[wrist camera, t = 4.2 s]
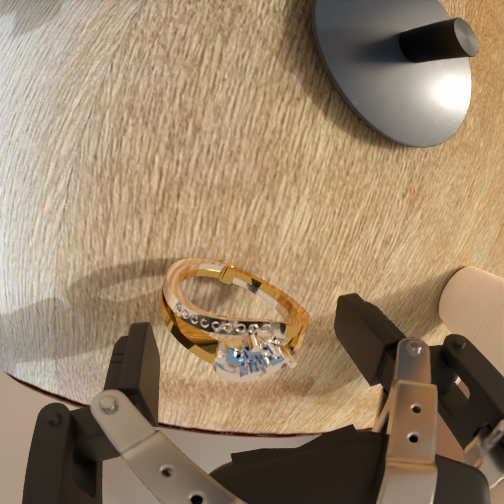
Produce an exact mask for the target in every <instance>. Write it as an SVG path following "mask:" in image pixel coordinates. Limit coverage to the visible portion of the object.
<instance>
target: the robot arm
mask: <svg viewBox="0 0 504 504" xmlns="http://www.w3.org/2000/svg"><path fill="white" fill-rule="evenodd" d="M334 330H335V334H336V336H337V338H338V339H339V341H340V342H341V344H342V345H343V347H344V348H345V350H346V351H347V352H348V354H349V355H350V357H351V358H352V360H353V361H354V363H355V364H356V366H357V367H358V369H359V370H360V371H361V373H362V374H363V376H364V377H365V379H366V380H367V382H368V383H369V385H370V386H374V385H377V384H379V383H381V385H382V386H383V387H382V389H381V392H380V398H379V403H378V408H377V413H376V418H375V423H374V426H373V429H372V431H356V429H355V427H354V426H353V424H351V425H348V426H346V427H343V428H340V429H336V430H333V431H330V432H327V433H324V434H323V435H321V436H319V437H317V438H316V439H314V440H312V441H310V442H308V443H306V444H304V445H302V446H301V447H298V448H278V449H277V448H273V449H267V448H262V449H257V450H251V451H245V452H239V453H232V454H231V458H232V461H231V462H229V463H226V464H224V465H222V466H220V467H218V468H217V469H215V470H214V471H212V472H211V473H210V474H207V473H206V472H205V471H203V470H202V469H201V468H200V467H199V466H198V465H196V464H195V463H194V462H193V461H192V460H191V459H190V458H189V457H187V456H186V455H185V454H184V453H183V452H182V451H181V450H180V449H179V448H178V447H177V446H176V445H175V444H174V443H173V442H172V441H171V440H170V439H168V437H167V436H166V435H164V434H163V433H162V432H161V431H160V430H158V431H157V430H156V429H155V428H154V427H158V401H159V377H160V356H159V351H158V347H157V344H156V341H155V337H154V334H153V330H152V327H151V324H150V322H144V323H132V324H131V327H130V331H129V336H121V337H120V339H119V340H118V341H117V342H116V344H115V345H114V349H113V352H112V356H111V360H110V364H109V368H108V372H107V377H106V381H105V386H104V390H103V391H102V392H100V393H99V394H97V395H96V396H95V397H94V398H93V400H92V402H91V405H90V406H87V407H84V408H80V409H76V410H72V411H69V409H68V408H67V407H66V406H65V405H64V404H61V403H51V404H48V405H46V406H45V407H44V408H42V409H41V411H40V412H39V414H38V418H37V421H36V425H35V430H34V434H33V438H32V442H31V447H30V452H29V457H28V463H27V469H26V475H25V482H24V490H23V499H22V504H102V463H103V462H102V461H103V460H107V459H111V458H115V457H119V456H121V457H122V459H123V460H124V461H125V462H126V464H127V465H128V466H129V468H130V469H131V470H132V471H133V472H134V474H135V475H136V476H137V477H138V478H139V480H140V481H141V482H142V483H143V484H144V485H145V486H146V488H147V489H148V490H149V491H150V492H151V493H152V494H153V495H154V496H155V497H156V498H157V499H158V501H159V502H160V503H161V504H491V501H490V489H492V488H493V487H494V486H496V485H497V484H499V483H500V482H502V481H503V480H504V377H503V376H502V374H501V373H500V372H499V371H498V370H497V369H496V368H495V367H494V366H493V365H492V364H491V362H490V361H489V360H488V359H487V358H486V357H485V356H484V355H483V354H482V353H481V352H480V351H479V350H478V349H477V348H476V347H475V346H474V345H473V344H472V343H471V342H470V341H469V340H468V339H467V338H466V337H464V336H462V335H459V334H450V335H448V336H446V338H445V340H444V342H443V345H437V346H428V345H427V344H426V343H425V342H424V341H423V340H421V339H418V338H414V337H406V336H405V335H404V334H403V333H402V332H401V331H400V330H399V329H398V328H397V327H396V326H395V325H394V324H393V323H392V322H391V321H390V320H389V319H388V318H387V316H386V315H383V312H382V311H381V310H380V309H379V308H378V307H377V306H375V305H373V304H371V303H369V302H365V301H364V300H363V299H362V298H361V297H360V296H359V295H358V294H357V293H352V294H347V295H342V296H339V298H338V301H337V308H336V315H335V322H334ZM458 376H459V377H460V379H461V380H462V381H463V382H464V383H465V385H466V386H467V387H468V389H469V391H470V397H469V399H467V397H466V396H465V395H464V393H463V392H462V391H461V390H460V389H459V387H458V386H457V384H456V383H455V381H456V380H457V378H458ZM437 412H439V414H440V415H441V417H442V418H443V420H444V421H445V423H446V424H447V426H448V427H449V429H450V430H451V432H452V433H453V435H454V436H455V438H456V439H457V441H458V442H459V444H460V446H461V447H462V449H463V450H464V460H463V462H459V461H455V460H452V459H449V458H446V457H443V456H440V455H437V454H435V451H436V438H437V414H438V413H437Z"/></svg>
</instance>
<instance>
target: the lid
mask: <svg viewBox="0 0 504 504" xmlns="http://www.w3.org/2000/svg"><path fill="white" fill-rule="evenodd" d="M311 25H312V31H313V37H314V41H315V45H316V48H317V52H318V54H319V57H320V59H321V62H322V64H323V67H324V69H325V71H326V72H327V74H328V76H329V78H330V80H331V82H332V83H333V85H334V87H335V88H336V90H337V91H338V93H339V94H340V96H341V97H342V98H343V100H344V101H345V102H346V104H347V105H348V106H349V107H350V108H351V109H352V110H353V112H354V113H355V114H356V115H357V116H358V117H359V118H360V119H361V120H362V121H364V122H365V123H366V124H367V125H368V126H369V127H370V128H372V129H373V130H375V131H376V132H377V133H379V134H380V135H382V136H384V137H386V138H387V139H389V140H391V141H394V142H396V143H399V144H401V145H406V146H411V147H421V148H425V147H432V146H435V145H438V144H441V143H443V142H444V141H446V140H448V139H449V138H450V137H451V136H452V135H454V134H455V132H456V131H457V130H458V129H459V127H460V126H461V124H462V122H463V121H464V118H465V116H466V113H467V110H468V107H469V103H470V96H471V72H470V65H469V60H468V57H474V56H476V55H477V53H478V43H477V39H476V36H475V34H474V32H473V30H472V29H471V27H470V26H469V25H468V23H467V22H465V21H464V20H463V19H461V18H453V19H451V18H450V16H449V15H448V13H447V12H446V10H445V9H444V8H443V7H442V5H441V4H440V3H439V2H438V1H437V0H313V3H312V10H311Z"/></svg>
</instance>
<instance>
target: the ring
mask: <svg viewBox="0 0 504 504" xmlns="http://www.w3.org/2000/svg"><path fill="white" fill-rule="evenodd" d="M195 276H208V277H214V278H218V280H219V281H221V282H223V283H226V284H231V283H234V284H236V285H239V286H241V287H243V288H245V289H247V290H249V291H251V292H253V293H255V294H256V295H258V296H259V297H261V298H262V299H264V300H265V301H267V302H268V303H269V304H270V305H271V306H273V307H274V308H275V309H276V310H277V311H278V312H279V314H280V315H281V316H282V318H283V319H284V321H281V322H275V321H273V320H269V319H253V318H235V317H226V316H220V315H215V314H212V313H209V312H206V311H204V310H201V309H200V308H198V307H196V306H195V305H194V304H192V303H191V302H190V301H189V300H188V299H187V298H186V296H185V295H184V293H183V292H182V290H181V288H180V285H179V284H180V283H181V282H182V281H184V280H185V279H188V278H191V277H195ZM159 308H160V312H161V315H162V318H163V320H164V322H165V324H166V326H167V327H168V329H169V330H170V332H171V333H172V334H173V335H174V337H175V338H176V339H177V340H178V341H179V342H180V343H181V344H182V345H183V346H184V347H186V348H187V349H188V350H189V351H191V352H192V353H194V354H195V355H196V356H198V357H200V358H201V359H203V360H205V361H207V362H209V363H211V364H212V365H213V368H214V370H215V372H216V373H217V374H218V375H219V376H220V377H222V378H224V379H226V380H229V381H233V382H248V381H253V380H257V379H260V378H261V379H267V378H268V375H270V374H272V373H274V372H276V371H278V370H280V369H282V368H283V367H285V366H286V365H288V366H289V367H290V368H291V369H293V368H294V367H295V366H296V365H297V364H298V363H297V362H296V361H295V359H294V356H295V355H296V353H297V352H298V350H299V348H300V347H301V345H302V342H303V338H304V334H305V333H306V331H307V329H308V327H309V325H310V323H311V321H312V320H311V317H310V315H309V313H308V312H307V311H306V310H305V309H304V308H303V307H302V306H301V305H300V304H299V303H298V302H296V301H295V300H294V299H293V298H291V297H290V296H289V295H287V294H286V293H284V292H283V291H281V290H280V289H278V288H277V287H275V286H273V285H272V284H270V283H268V282H267V281H265V280H263V279H261V278H259V277H257V276H255V275H253V274H251V273H249V272H247V271H244V270H242V269H240V268H237V267H236V266H235V265H234V264H232V263H230V262H227V261H223V262H220V261H216V260H211V259H205V258H186V259H182V260H179V261H177V262H175V263H173V264H172V265H171V266H170V267H169V269H168V271H167V274H166V276H165V278H164V281H163V285H162V287H161V290H160V294H159ZM200 329H201V330H205V331H208V332H213V333H218V334H226V335H243V336H239V337H236V338H233V339H230V340H228V339H227V338H222V337H219V341H218V340H216V339H214V338H212V337H211V336H209V335H207V334H206V333H204V332H203V331H201V330H200ZM286 338H288V341H287V344H286V346H285V347H284V346H281V345H279V344H278V343H281V342H284V341H285V340H286Z"/></svg>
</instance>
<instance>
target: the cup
mask: <svg viewBox="0 0 504 504" xmlns="http://www.w3.org/2000/svg"><path fill="white" fill-rule="evenodd" d="M439 317H440V318H441V320H442V321H443V323H444V324H445V325H446V327H447V328H448V329H449V331H450V332H451V333H452V334H459V335H462V336H464V337H466V338H467V339H468V340H469V341H470V342H471V343H472V344H473V345H474V346H475V347H476V348H477V349H478V350H479V351H480V352H481V353H482V354H483V355H484V356H485V357H486V358H487V359H488V360H489V361H490V362H491V364H492V365H493V366H494V367H495V368H496V369H497V370H498V371H499V372H500V373H501V374H502V376H503V377H504V279H503V278H500V277H499V276H496V275H493V274H491V273H488V272H486V271H484V270H481V269H478V268H476V267H473V266H467V267H465V268H462V269H460V270H459V271H458V272H456V273H455V274H454V275H453V276H452V278H451V279H450V280H449V282H448V283H447V285H446V286H445V288H444V290H443V292H442V295H441V298H440V302H439Z"/></svg>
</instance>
